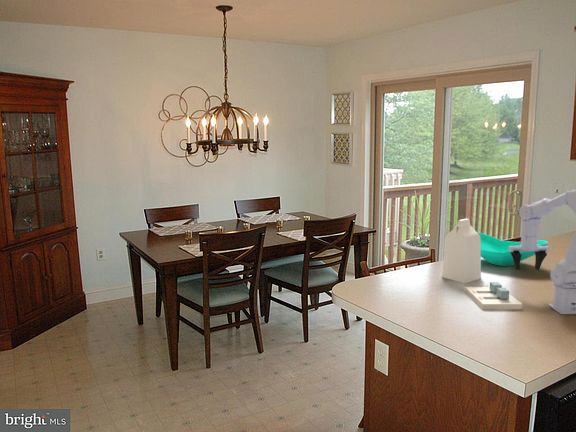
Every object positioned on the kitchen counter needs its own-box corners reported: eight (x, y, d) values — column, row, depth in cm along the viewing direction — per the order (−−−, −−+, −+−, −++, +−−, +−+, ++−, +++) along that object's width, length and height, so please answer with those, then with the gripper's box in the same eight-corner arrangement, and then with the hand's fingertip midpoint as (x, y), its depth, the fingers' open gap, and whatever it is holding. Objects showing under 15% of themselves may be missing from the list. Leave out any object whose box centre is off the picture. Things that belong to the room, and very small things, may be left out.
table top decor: (449, 263, 240) (450, 236, 238) (471, 252, 260) (472, 228, 258) (536, 278, 213) (538, 248, 211) (553, 265, 234) (555, 238, 232)
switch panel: (522, 309, 176) (522, 303, 176) (482, 309, 176) (483, 303, 176) (500, 291, 196) (500, 286, 195) (464, 291, 196) (464, 286, 196)
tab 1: (501, 292, 187) (501, 285, 187) (493, 292, 187) (493, 285, 187) (497, 289, 191) (497, 282, 191) (489, 289, 191) (489, 282, 191)
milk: (464, 283, 208) (467, 223, 203) (441, 277, 217) (444, 219, 213) (480, 278, 215) (484, 219, 210) (458, 272, 224) (460, 216, 220)
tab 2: (508, 298, 180) (509, 291, 180) (500, 298, 180) (501, 291, 180) (504, 295, 184) (504, 287, 184) (496, 295, 184) (496, 287, 184)
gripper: (543, 233, 194) (541, 266, 196) (506, 233, 194) (504, 266, 197) (552, 237, 187) (549, 271, 189) (513, 237, 188) (511, 271, 190)
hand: (527, 269), depth 192 cm, fingers open, 7 cm apart
